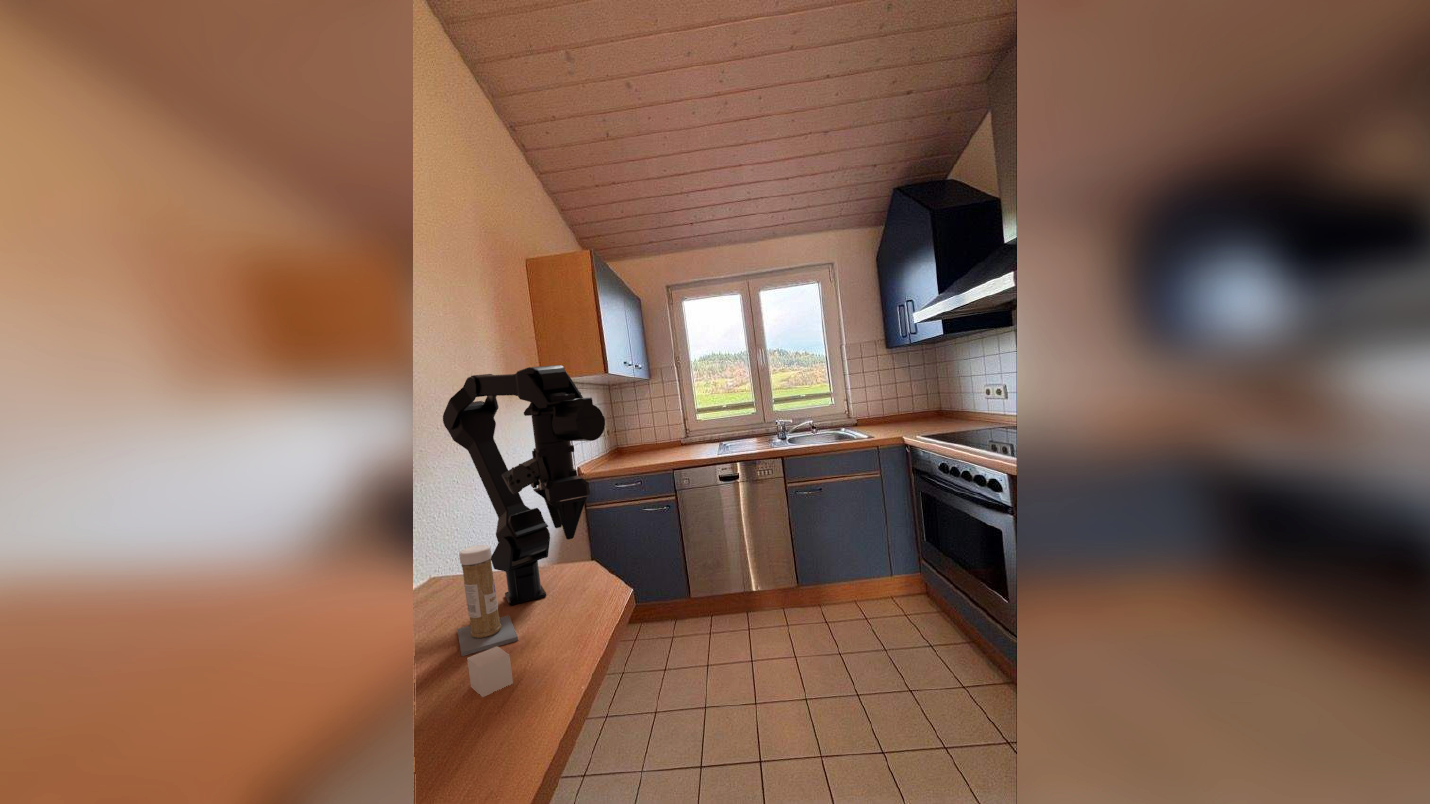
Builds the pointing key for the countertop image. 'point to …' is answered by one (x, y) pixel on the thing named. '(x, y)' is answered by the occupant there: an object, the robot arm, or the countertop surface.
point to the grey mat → (479, 644)
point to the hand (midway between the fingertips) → (563, 533)
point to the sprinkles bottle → (480, 590)
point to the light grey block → (490, 671)
